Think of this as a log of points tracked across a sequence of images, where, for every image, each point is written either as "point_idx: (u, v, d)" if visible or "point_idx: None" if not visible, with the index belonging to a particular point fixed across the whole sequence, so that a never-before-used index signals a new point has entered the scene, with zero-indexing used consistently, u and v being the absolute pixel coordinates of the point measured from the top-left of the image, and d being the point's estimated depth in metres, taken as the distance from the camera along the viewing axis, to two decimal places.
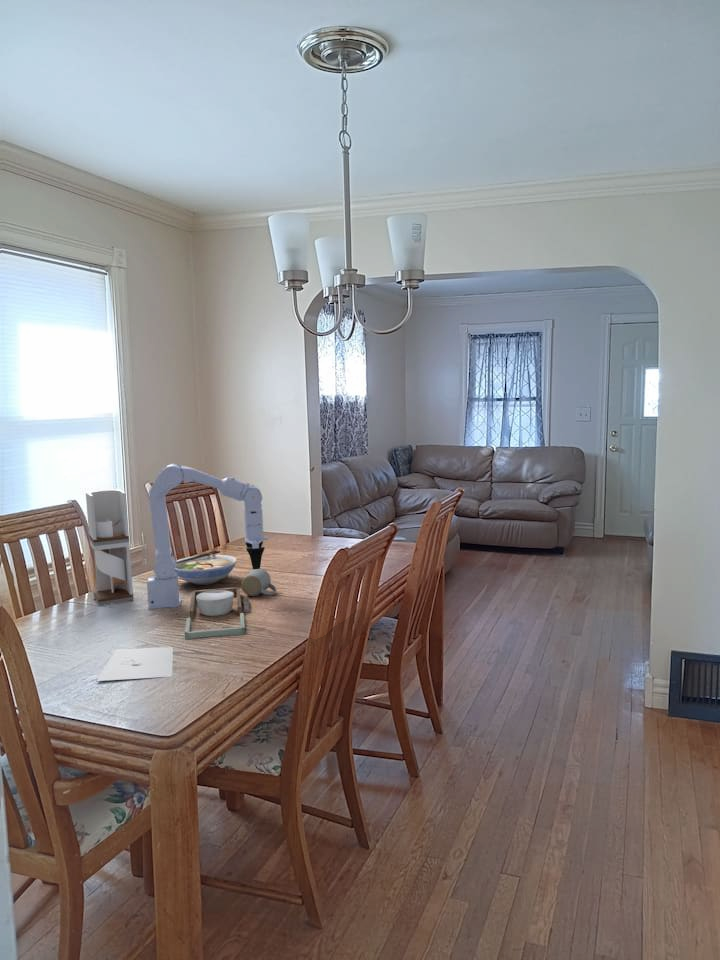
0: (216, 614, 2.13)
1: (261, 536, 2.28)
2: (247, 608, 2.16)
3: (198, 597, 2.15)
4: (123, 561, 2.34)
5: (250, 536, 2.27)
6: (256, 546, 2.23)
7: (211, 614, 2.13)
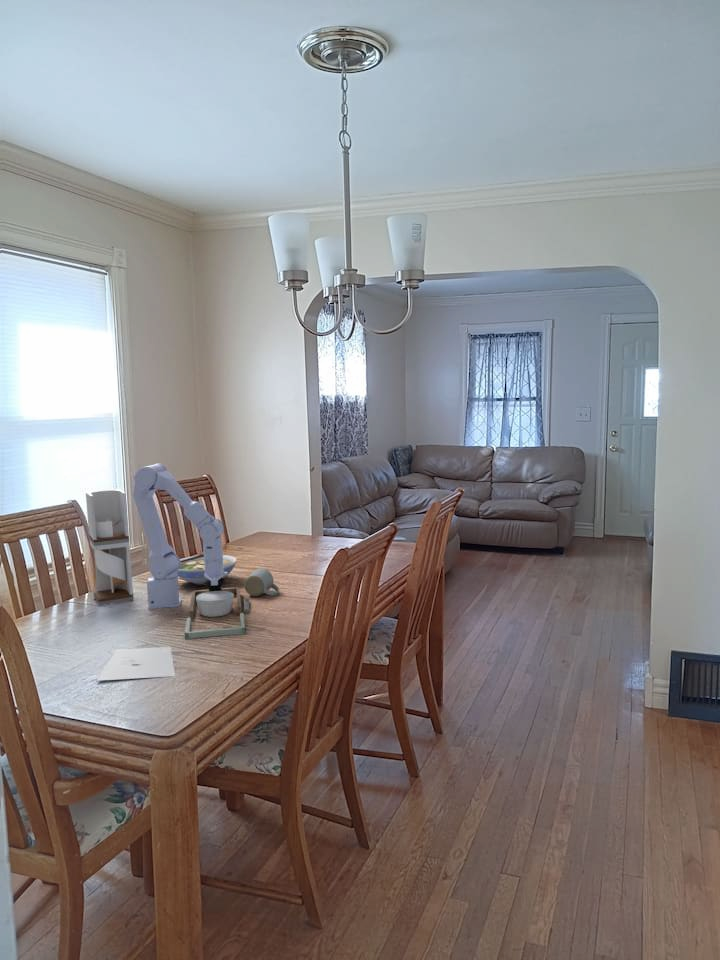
0: (216, 615, 2.12)
1: (221, 572, 2.21)
2: (247, 608, 2.16)
3: (198, 598, 2.14)
4: (123, 561, 2.34)
5: (209, 571, 2.20)
6: (215, 583, 2.16)
7: (211, 615, 2.12)
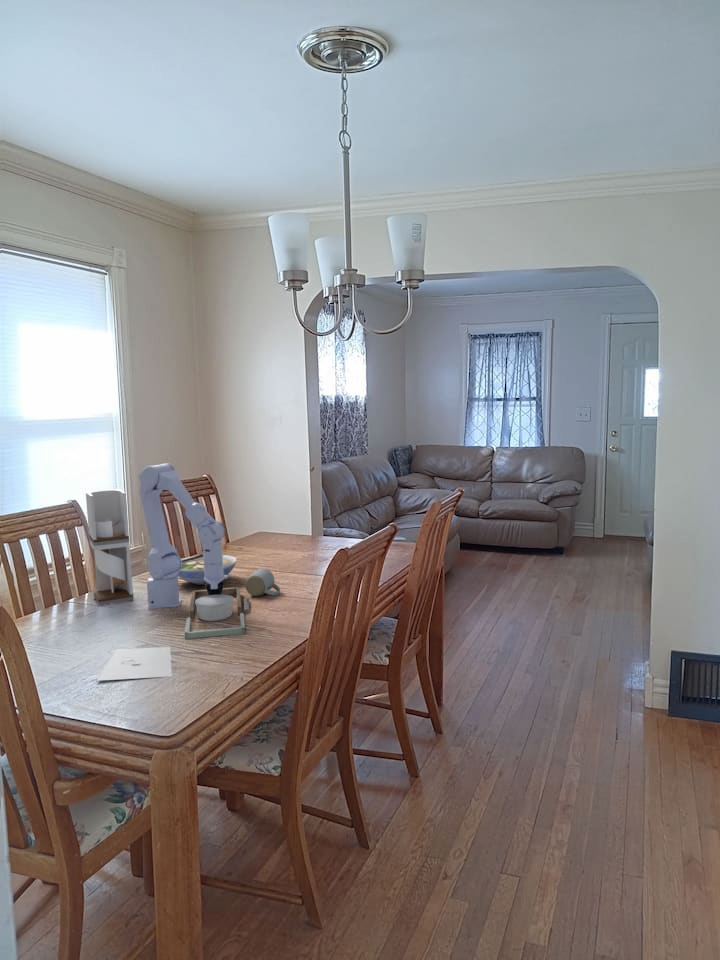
0: (216, 619, 2.08)
1: (221, 575, 2.17)
2: (247, 608, 2.16)
3: (197, 602, 2.09)
4: (123, 561, 2.34)
5: (209, 575, 2.16)
6: (214, 586, 2.12)
7: (210, 619, 2.08)
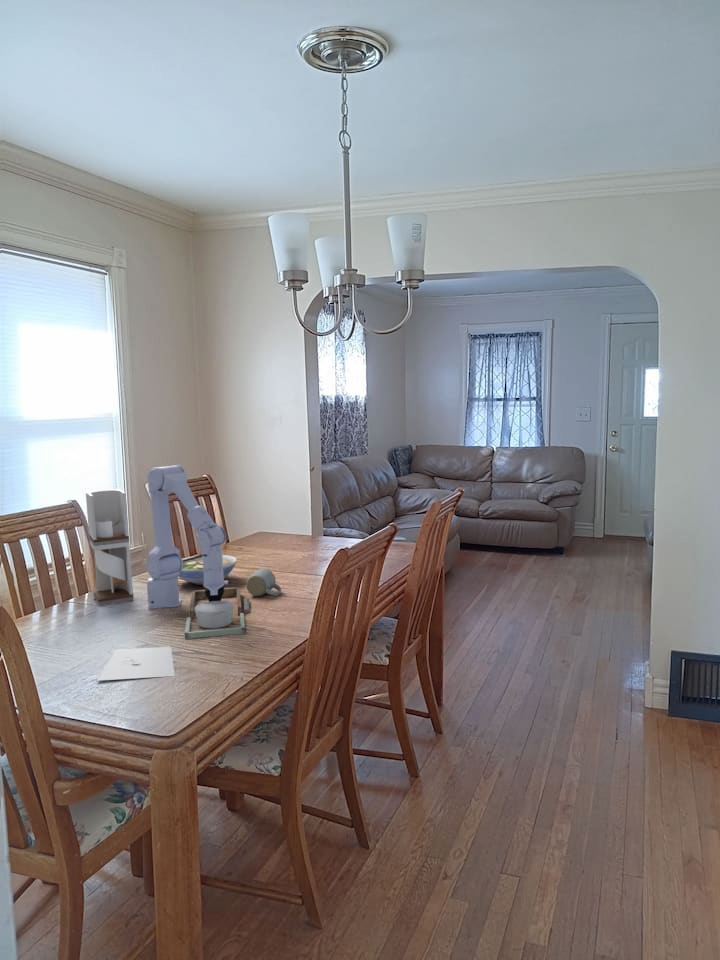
0: (216, 626, 2.01)
1: (221, 581, 2.10)
2: (247, 608, 2.16)
3: (197, 608, 2.03)
4: (123, 561, 2.34)
5: (209, 580, 2.09)
6: (214, 593, 2.05)
7: (210, 626, 2.01)
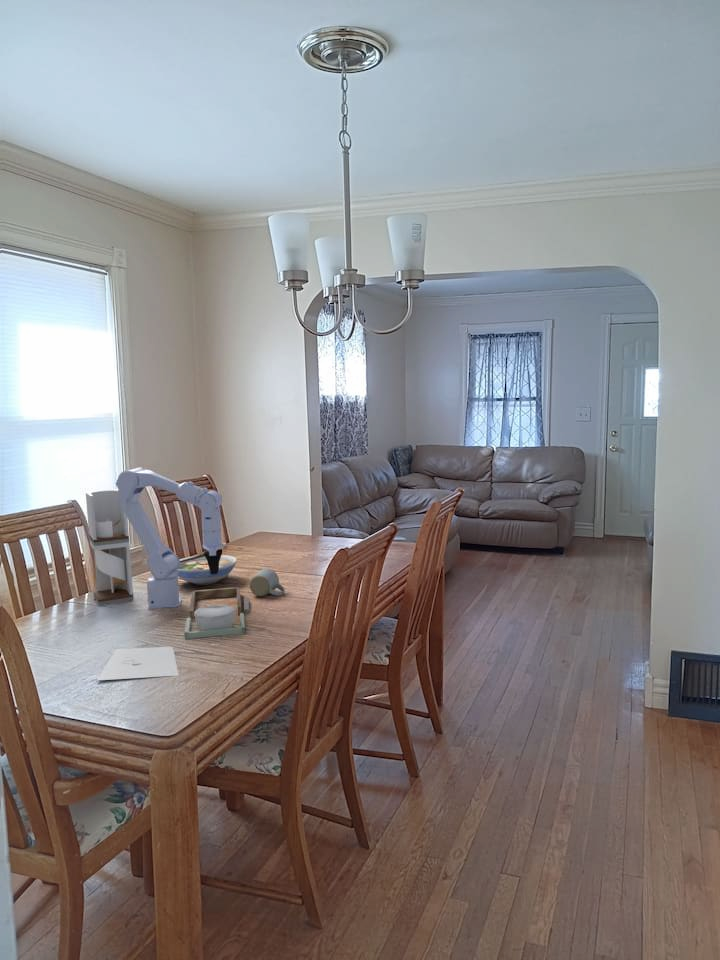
0: None
1: (219, 543, 2.21)
2: (246, 608, 2.16)
3: (196, 613, 1.99)
4: (123, 561, 2.34)
5: (208, 542, 2.19)
6: (213, 553, 2.15)
7: None
